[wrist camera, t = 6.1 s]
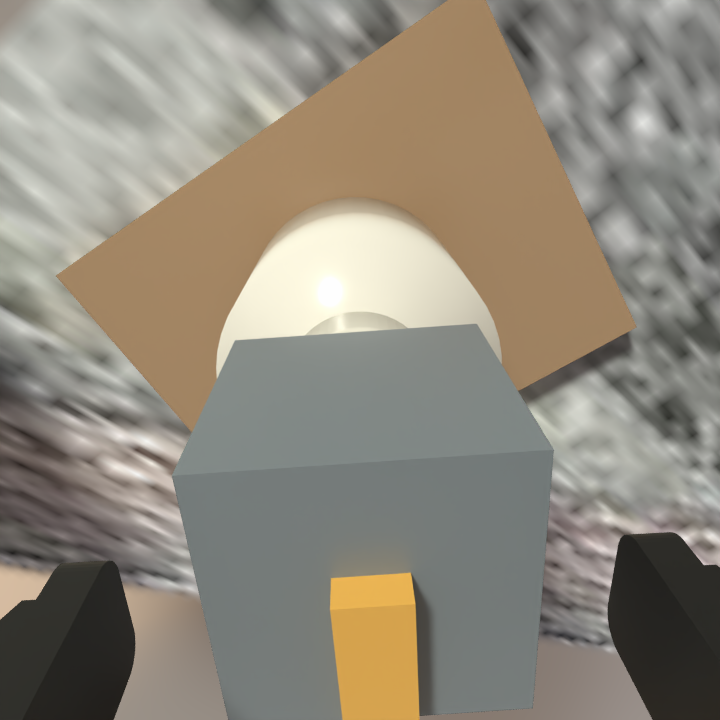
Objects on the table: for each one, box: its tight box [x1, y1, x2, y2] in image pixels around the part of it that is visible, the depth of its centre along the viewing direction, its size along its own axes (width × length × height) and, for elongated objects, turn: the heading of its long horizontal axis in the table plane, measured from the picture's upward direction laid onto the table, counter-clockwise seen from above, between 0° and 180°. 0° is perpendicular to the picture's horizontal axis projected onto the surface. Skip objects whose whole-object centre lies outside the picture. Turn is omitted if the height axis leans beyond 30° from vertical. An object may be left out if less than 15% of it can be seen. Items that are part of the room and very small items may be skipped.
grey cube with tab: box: [172, 324, 554, 720], centre depth 11 cm, size 5×5×6 cm
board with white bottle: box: [56, 0, 636, 432], centre depth 19 cm, size 18×14×11 cm
